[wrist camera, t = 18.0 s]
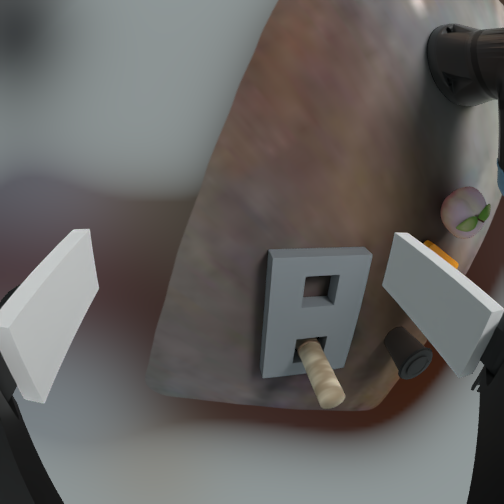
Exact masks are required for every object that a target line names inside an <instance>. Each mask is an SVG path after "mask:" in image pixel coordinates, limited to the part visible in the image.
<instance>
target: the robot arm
mask: <svg viewBox="0 0 504 504" xmlns="http://www.w3.org/2000/svg"><path fill="white" fill-rule="evenodd" d="M428 62H429V67H430V70H431V73H432V76H433V78H434V80H435V82H436V84H437V86H438V88H439V89H440V90H441V92H442V93H443V94H444V95H445V96H446V97H447V98H448V99H449V100H450V101H452V102H453V103H455V104H458V105H464V106H476V105H479V104H482V103H485V102H488V101H491V100H494V99H498V107H499V109H498V111H499V148H498V158H497V166H498V179H497V182H498V187H499V189H500V191H501V193H502V194H503V195H504V28H496V29H485V30H478V29H475V28H471V27H468V26H464V25H460V24H447V25H442V26H439V27H437V28H436V29H435V30H434V31H433V32H432V34H431V36H430V38H429V42H428ZM382 286H383V287H384V288H385V289H386V291H387V292H388V293H389V294H390V295H391V296H392V297H393V299H394V300H395V301H396V302H397V303H398V304H399V305H400V307H401V308H402V309H403V310H404V311H405V312H406V314H407V315H408V316H409V317H410V318H411V319H412V321H413V322H414V323H415V324H416V325H417V327H418V328H419V329H420V330H421V331H422V333H423V334H424V335H425V336H426V337H427V339H428V340H429V341H430V342H431V344H432V345H433V346H434V347H435V348H436V350H437V351H438V352H439V353H440V355H441V356H442V357H443V358H444V359H445V361H446V362H447V364H448V365H449V366H450V367H451V369H452V370H453V371H454V373H455V374H456V375H457V376H458V378H461V377H464V376H467V375H470V374H473V372H474V370H475V368H476V367H477V365H478V363H479V361H482V363H483V364H484V367H483V369H482V370H481V372H480V374H479V376H478V377H477V379H476V381H475V382H474V384H473V385H472V388H471V390H474V389H475V387H476V386H477V385H480V387H479V388H478V390H477V392H480V407H479V424H478V436H477V445H476V454H475V462H474V468H473V474H472V480H471V486H470V491H469V496H468V500H467V504H504V308H502V307H501V306H500V305H499V304H498V303H497V302H496V301H494V300H493V299H492V298H491V297H490V296H489V295H487V294H486V293H485V292H484V291H483V290H481V289H480V288H479V287H478V286H477V285H475V284H474V283H473V282H472V281H471V280H469V279H468V278H467V277H466V276H464V275H463V274H462V273H461V272H459V271H458V270H457V269H456V268H454V267H453V266H452V265H450V264H449V263H448V262H447V261H445V260H444V259H443V258H441V257H440V256H439V255H437V254H436V253H435V252H433V251H432V250H431V249H429V248H428V247H427V246H425V245H424V244H423V243H421V242H420V241H418V240H417V239H416V238H414V237H413V236H411V235H410V234H409V233H398V232H395V234H394V238H393V243H392V247H391V252H390V256H389V260H388V264H387V268H386V272H385V276H384V280H383V284H382ZM98 289H99V286H98V281H97V275H96V269H95V263H94V256H93V250H92V243H91V235H90V229H74V230H72V232H71V233H69V234H68V235H67V236H66V237H65V238H64V239H63V240H62V241H61V242H60V243H59V244H58V245H57V247H55V248H54V249H53V250H52V252H51V253H50V254H49V255H48V256H47V257H46V258H45V259H44V260H43V261H42V262H41V263H40V264H39V265H38V266H37V267H36V269H35V270H34V271H33V272H32V273H31V274H30V275H29V276H28V277H27V278H26V280H25V281H24V282H23V283H22V284H21V285H18V286H17V287H15V288H14V289H12V290H11V291H9V292H8V294H6V295H5V297H4V298H3V299H2V300H1V302H0V504H64V503H63V501H62V499H61V497H60V496H59V494H58V493H57V490H56V489H55V487H54V485H53V483H52V481H51V479H50V478H49V476H48V474H47V472H46V470H45V468H44V466H43V464H42V462H41V460H40V458H39V456H38V453H37V451H36V449H35V447H34V445H33V442H32V440H31V438H30V435H29V433H28V431H27V428H26V426H25V423H24V421H23V418H22V415H21V413H20V410H19V407H18V404H17V402H16V401H15V399H14V397H13V393H14V390H15V389H16V387H18V389H19V391H20V393H21V394H22V396H23V398H24V399H25V400H29V401H34V402H38V403H43V404H44V403H45V402H46V399H47V397H48V394H49V392H50V389H51V387H52V384H53V382H54V380H55V377H56V375H57V373H58V371H59V368H60V366H61V364H62V361H63V359H64V357H65V355H66V353H67V350H68V348H69V346H70V344H71V342H72V340H73V338H74V336H75V334H76V332H77V330H78V328H79V325H80V324H81V322H82V320H83V318H84V316H85V314H86V312H87V310H88V308H89V306H90V304H91V302H92V300H93V299H94V296H95V295H96V293H97V291H98Z"/></svg>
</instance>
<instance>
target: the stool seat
mask: <svg viewBox="0 0 504 504" xmlns="http://www.w3.org/2000/svg"><path fill="white" fill-rule="evenodd" d="M372 255H373V254H371V253H370V252H369V251H368V250H367V249H366V248H365V247H338V248H301V249H268V263H267V277H266V291H265V304H264V317H263V330H262V343H261V355H260V371H261V375H262V378H271V377H280V376H289V375H297V374H304V373H306V370H305V368H304V365H303V363H302V361H301V358H300V357H299V355H298V351H295V345H296V339H306V338H315V337H319V341H318V342H319V343H320V345H321V348H322V350H323V352H324V354H325V356H326V358H327V360H328V362H329V364H330V366H331V368H332V369H337V368H343V367H344V365H345V361H346V358H347V355H348V351H349V348H350V344H351V341H352V337H353V334H354V330H355V327H356V323H357V319H358V315H359V311H360V308H361V304H362V300H363V295H364V291H365V287H366V283H367V278H368V274H369V269H370V265H371V260H372ZM326 275H331V279H330V284H329V290H328V295H327V296H315V297H303V293H304V286H305V278H306V277H309V276H326ZM294 351H295V352H294Z"/></svg>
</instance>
